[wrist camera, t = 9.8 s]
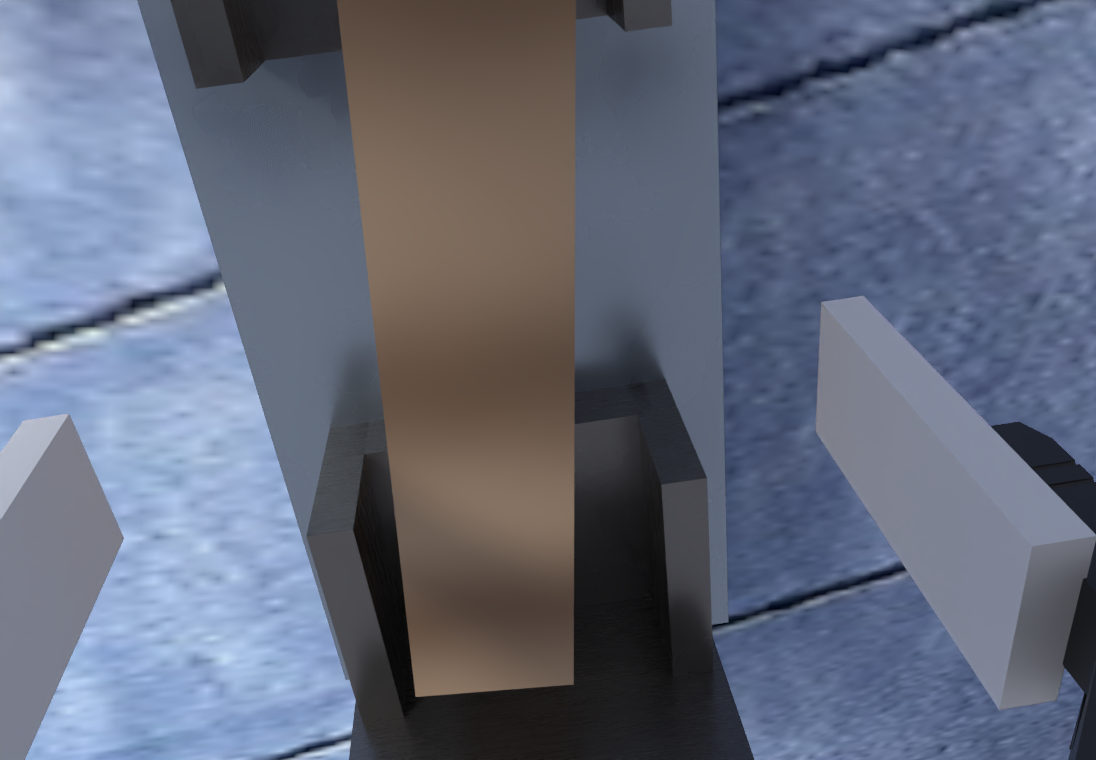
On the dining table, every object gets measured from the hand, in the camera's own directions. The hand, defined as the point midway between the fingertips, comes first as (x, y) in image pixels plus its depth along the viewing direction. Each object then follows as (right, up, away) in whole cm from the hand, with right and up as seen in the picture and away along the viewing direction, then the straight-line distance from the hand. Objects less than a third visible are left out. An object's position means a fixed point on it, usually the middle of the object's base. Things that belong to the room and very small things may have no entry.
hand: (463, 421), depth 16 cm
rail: (0, +4, +8) cm, 9 cm away
